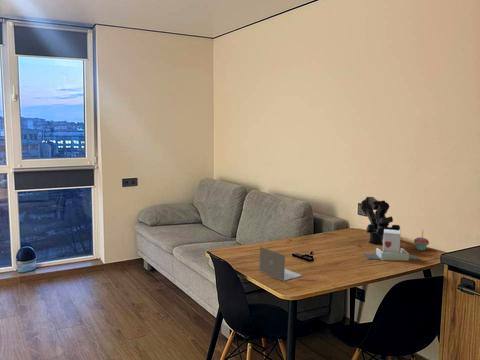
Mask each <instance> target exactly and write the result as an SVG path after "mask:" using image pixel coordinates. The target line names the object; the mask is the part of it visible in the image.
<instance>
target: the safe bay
mask: <svg viewBox="0 0 480 360" xmlns="http://www.w3.org/2000/svg"><path fill="white" fill-rule="evenodd" d="M363 256H364V257H365V258H366V259H367V260H375V261H377V260H381V261H405V262H406V261H421V260H422V259H421V258H419V257H418V256H417V255H416V254H410V253H409V252H408V251H407V250H406V249H404V248H401V247H400V252H399V253H383V250H381V249H379V248H378V247H376V249H375V253H363Z"/></svg>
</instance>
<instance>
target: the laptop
mask: <svg viewBox="0 0 480 360" xmlns="http://www.w3.org/2000/svg"><path fill="white" fill-rule="evenodd" d="M285 258H286V255H285V254H283V253H279V252H277V251H276V250H275V251H274V250H271V249H268V248H265V247H262V246H260V247H259V267H258V268H259V272H261V273H263V274H266V275H268V276H270V277H273V278H276V279H278V280H281V281H282V282H285V281H289V280H293V279H297V278H300V277H303V274H299V273H298V272H295V271H292V270H290V269H286V268H285V266H286V265H285V263H286V262H285V261H286V259H285Z"/></svg>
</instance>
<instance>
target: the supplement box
mask: <svg viewBox="0 0 480 360" xmlns="http://www.w3.org/2000/svg"><path fill="white" fill-rule="evenodd" d="M401 236H402V235H401V229H400V230H389V229H384V237H383V239H382V242H383V243H382V252H383V253H401V238H402V237H401Z"/></svg>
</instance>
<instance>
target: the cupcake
mask: <svg viewBox="0 0 480 360" xmlns="http://www.w3.org/2000/svg"><path fill="white" fill-rule="evenodd" d="M413 243H414V244H415V248H416V249H417V250H419V251H425V250H426V248H427V246H429V244H430V241H429V240H428V239H427V238H425V237H424V230H422V231H421V237H416V238H415V239H414V240H413Z"/></svg>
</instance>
